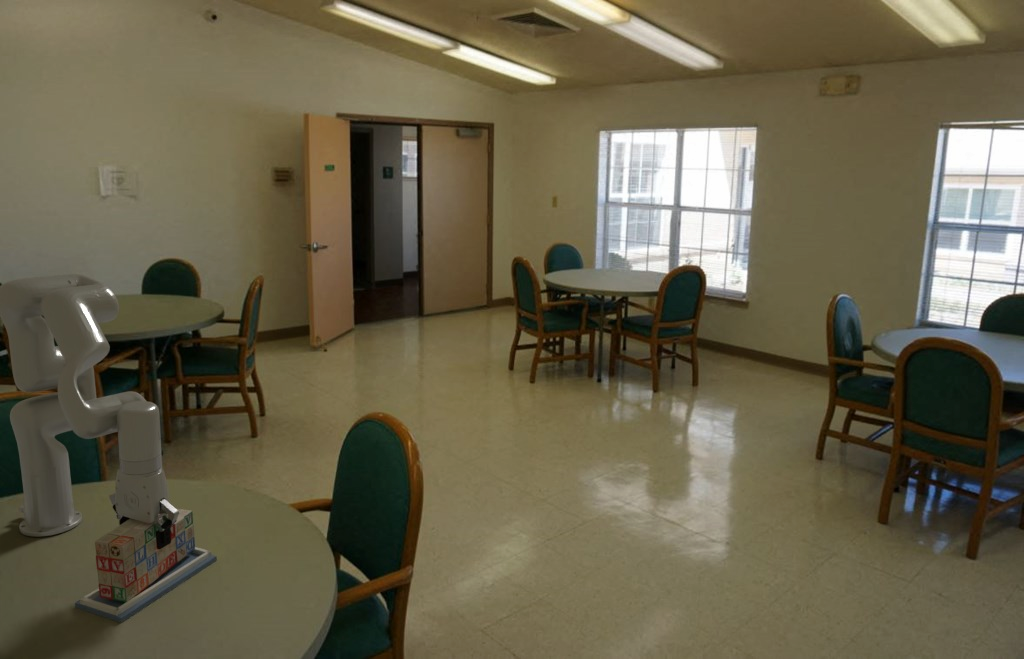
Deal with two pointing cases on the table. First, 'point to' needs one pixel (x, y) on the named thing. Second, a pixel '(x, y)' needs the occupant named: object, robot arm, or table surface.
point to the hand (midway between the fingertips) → (145, 540)
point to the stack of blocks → (139, 555)
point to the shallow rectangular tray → (148, 588)
